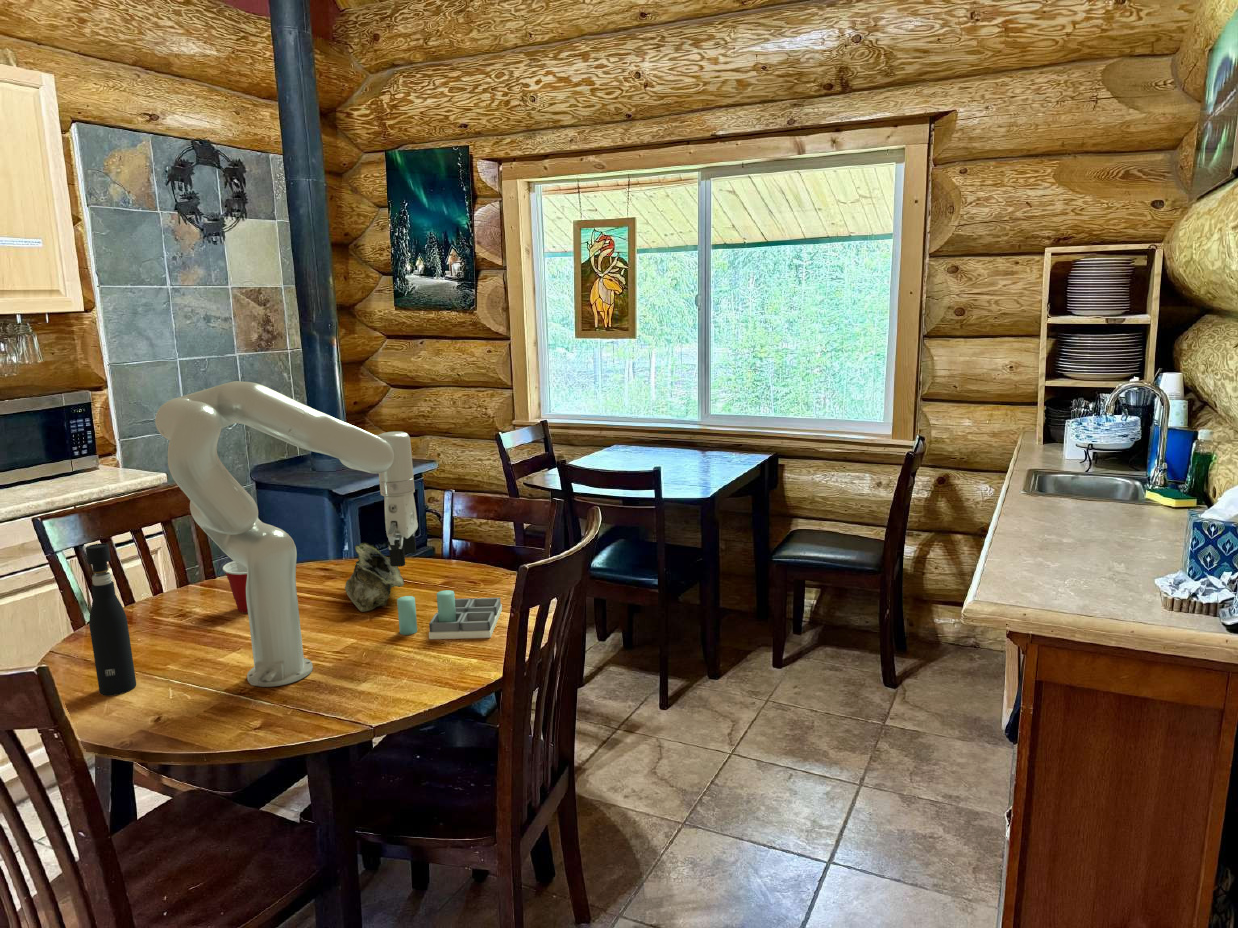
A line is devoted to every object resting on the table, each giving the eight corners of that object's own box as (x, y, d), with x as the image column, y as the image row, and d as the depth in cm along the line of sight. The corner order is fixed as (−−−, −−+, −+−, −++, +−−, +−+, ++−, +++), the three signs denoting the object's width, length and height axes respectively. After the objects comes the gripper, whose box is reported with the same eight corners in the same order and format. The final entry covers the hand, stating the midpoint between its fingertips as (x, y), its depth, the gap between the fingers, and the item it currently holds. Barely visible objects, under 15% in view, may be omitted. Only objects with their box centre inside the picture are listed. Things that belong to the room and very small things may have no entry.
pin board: (490, 637, 188) (488, 597, 187) (429, 639, 189) (426, 599, 187) (502, 609, 206) (500, 572, 204) (446, 610, 206) (443, 574, 204)
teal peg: (414, 634, 192) (412, 601, 190) (397, 635, 192) (395, 602, 190) (419, 628, 195) (416, 595, 194) (402, 628, 196) (399, 596, 194)
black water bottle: (129, 678, 172) (108, 539, 167) (141, 687, 168) (121, 544, 163) (94, 690, 167) (72, 547, 162) (106, 698, 163) (84, 552, 158)
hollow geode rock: (376, 596, 233) (334, 562, 229) (407, 562, 234) (366, 528, 230) (368, 629, 206) (320, 591, 202) (403, 591, 206) (356, 553, 203)
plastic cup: (242, 619, 204) (236, 573, 202) (219, 611, 211) (214, 565, 209) (282, 606, 213) (277, 561, 211) (259, 598, 219) (255, 555, 217)
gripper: (403, 494, 179) (410, 570, 182) (422, 478, 196) (428, 547, 199) (369, 496, 179) (376, 571, 182) (391, 479, 196) (397, 548, 199)
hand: (403, 559), depth 191 cm, fingers open, 9 cm apart
